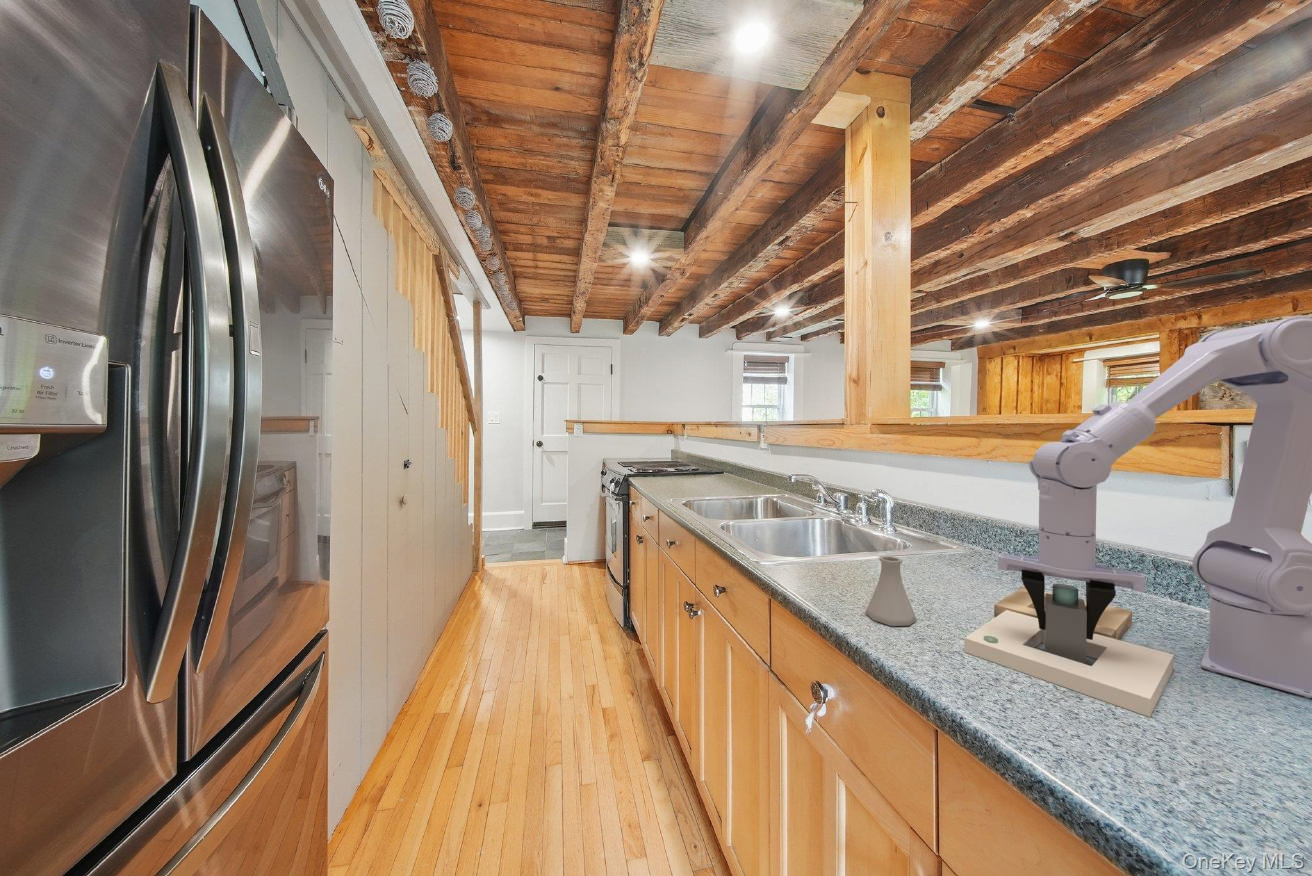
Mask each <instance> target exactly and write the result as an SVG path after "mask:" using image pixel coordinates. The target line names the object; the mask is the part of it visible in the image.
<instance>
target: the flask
mask: <svg viewBox="0 0 1312 876" xmlns="http://www.w3.org/2000/svg"><path fill="white" fill-rule="evenodd" d="M878 561H880V563H881V564H880V566H881V567H880V574H879V579H878V581H877V584H876V587H875V589H874V591H873V594H872V597H871V598H870V601H869V604H868V606H867V607H866V610H865V612H864V614H866V615H867V616H868V617H869V618H870V619H871V620H873V621H875V622H878V623H881V624H884V625H887V626H890V627H897V626H900V627H901V626H902V627H903V626H906V627H907V626H911V625H912V624H914V623H915V622H917V621H918V620H917V616H916V614H915V611H914V610H913V607H912V605H911V602H910V600H909V597H908V594H907V592H906V590H905V589H906V588H905V586H904V583H903V580H902V579H903V578H902V574H901V564H902V563H903V558H902V559H901V558H899V557H897V556H891V555H882V556H880V557H879V559H878Z"/></svg>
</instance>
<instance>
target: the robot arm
mask: <svg viewBox="0 0 1312 876" xmlns="http://www.w3.org/2000/svg"><path fill="white" fill-rule="evenodd" d="M1215 382H1219V383H1222V384H1224V385H1225V386H1227V387H1229V388H1231V389H1234V390H1236V391H1238V392H1241V393H1242V394H1245V395H1246V396H1247V397H1249V398H1250V399H1251V400H1252V401H1253V402H1254V403H1256V408H1255V412H1254V413H1255V414H1254V418H1253V420H1252V426H1251V430H1250V434H1249V438H1248V443H1247V447H1246V451H1245V455H1244V460H1243V463H1242V468H1241V473H1240V477H1239V481H1238V485H1237V490H1236V494H1235V499H1234V503H1233V508H1232V511H1231V515H1230V519H1229V522H1228V521H1227V522H1226V523H1224V524H1222V525H1220V526H1218V527H1216V528H1214V529H1211V530H1209V531H1208V532H1207V535H1206V539H1205V542H1204V543H1203V545H1202V546H1201V547H1200V548H1199V549H1198V550H1197V551H1196V552H1195V554H1194V557H1193V558H1192V559H1193V560H1192V565H1191V566H1192V571H1193V573H1194V575H1195V576H1196V578H1197V579H1198V581H1200V582H1201V583H1202V584H1205V585H1204V588H1205V589H1204V590H1205V591H1204V592H1205V593H1208V594H1209V595H1210V596H1209V622H1208V623H1209V629H1208V630H1209V631H1208V647H1207V648H1206V650H1205V652H1204V654H1203V658H1202V660H1201V662H1200V667H1201V668H1202V669H1205V670H1208V671H1212V672H1215V673H1219V674H1222V675H1225V676H1228V677H1229V676H1230V677H1234V678H1236V679H1240V680H1245V681H1249V682H1252V683H1255V684H1259V685H1263V686H1266V687H1270V688H1273V689H1277V690H1281V691H1285V692H1288V693H1292V694H1296V695H1298V696H1303V697H1306V698H1309V699H1312V543H1311V542H1310V541H1309V540H1308V539H1307V538H1306V537H1304V535H1303V534H1302V531H1303V527H1304V522H1305V519H1306V514H1307V510H1308V506H1309V504H1310V503H1309V502H1310V499H1311V498H1310V497H1311V493H1312V317H1311V316H1310V317H1309V316H1302V315H1299V316H1292V317H1287V318H1283V319H1280V320H1276V321H1272V322H1266V323H1260V324H1254V325H1249V326H1245V327H1239V328H1234V329H1233V328H1232V329H1228V330H1227V329H1225V330H1215V331H1213V332H1210V333H1207V334H1206V335H1204V336H1202V337H1201V338H1200V339H1199V340H1198V341H1197V342H1195V343H1193V344H1191V345H1189V346H1188V347H1186V348H1185V349H1184V353H1183V355H1182V356H1181V357H1180V358H1179V359H1178V360H1177V361H1176V362H1174V363H1173V364H1172V365H1171V366H1169V367H1168V368H1166V370H1164V371H1163V372H1162V373H1161V374H1159V375H1158V376H1157V377H1156V378H1155V379H1154V380H1152V381H1151V382H1150V383H1149V384H1147V385H1146V386H1145V387H1144V388H1143V389H1142V390H1140V391H1139V392H1138V393H1137V394H1135V395H1134V396H1133V397H1132V398H1131V399H1129V400H1128V401H1111V402H1110V403H1107V404H1098V405H1097V406H1096V407H1094V408H1092V410H1091V412H1092V413H1093V415H1091V416H1090V417H1089V418H1087V419H1085V420H1084V421H1083V422H1081V423H1080V424H1079V425H1078V426H1076V427H1075V428H1074V429H1072V430H1071V429H1067V430H1066V431H1064V432H1063V433H1062V434H1061V439H1060V441H1052V442H1047V443H1044V444H1042V445H1041V446H1040V447H1039V448H1038V449H1037V450H1036V451H1035V452H1034V455H1033V457H1032V460H1029V461H1028V467H1029V470H1030V472H1031V474H1032V475H1033V476H1034V477H1035V479H1036V481H1037V491H1038V492H1039V493H1038V494H1039V495H1038V556H1031V555H1016V554H1007V553H999V554H998V557H997V558H998V559H997V560H998V561H997V563H998V564H997V569H998V570H999V571H1005V572H1008V571H1013V572H1019V573H1021V578H1020V579H1021V581H1022V584H1023V587H1024V586H1025V588H1026V590H1027V591H1028V593H1029V595H1030V598H1031V600H1032V602H1033V605H1034V607H1035V610H1036V614H1037V617H1038V622H1039V629H1042V630H1045V628H1046V618H1045V606H1044V596H1045V591H1046V590H1045V589H1046V588H1045V587H1046V585H1045V579H1046V577H1052V578H1059V579H1065V580H1072V581H1079V582H1085V600H1086V610H1087V635H1086V639H1090V640H1093V634H1094V630H1095V628H1096V625H1097V623H1098V621H1099V619H1100V617H1101V615H1102V613H1103V612H1104V610H1105V609H1106V608H1107V606H1110V604H1111V603H1112V602H1113V601H1114V599H1115V598H1116V593H1117V592H1116V587H1118V588H1125V589H1131V590H1132V591H1135V592H1141V593H1145V592H1146V576H1145V574H1143V572H1137V571H1130V570H1125V569H1120V568H1115V567H1110V566H1104V565H1100V564H1096V544H1097V543H1096V542H1097V538H1096V537H1097V536H1096V534H1097V494H1098V493H1097V490H1098V489H1097V488H1098V485H1099V484H1102V483H1104V482H1106V480H1108V478H1109V477H1110V475H1111V471H1112V466H1113V465H1114V463H1115V462H1117V460H1118V459H1120V458H1121V457H1122V456H1124V455H1125V454H1127V453H1128V452H1129V451H1131V450H1132V449H1133V448H1135V447H1136V446H1138V445H1139V444H1141V443H1142V442H1144V441H1145V440H1146V439H1148V438H1149V437H1150V436H1152V435H1153V434H1155V431H1156V428H1157V427H1156V419H1157V418H1160V417H1161V416H1163V415H1165V414H1166V413H1167V412H1168V411H1170V410H1172V409H1174V408H1175V407H1176V406H1178V405H1181V403H1183V402H1185V401H1187V400H1188V399H1190V398H1191V397H1192V396H1194V395H1196V394H1197V393H1199V392H1200V391H1202V390H1204V389H1205V388H1207V387H1208V386H1210V385H1211V384H1213V383H1215ZM1252 549H1257V550H1261V551H1263V552H1261V551H1257V550H1252ZM1264 552H1265V553H1264ZM1045 576H1046V577H1045Z"/></svg>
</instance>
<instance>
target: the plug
mask: <svg viewBox="0 0 1312 876" xmlns="http://www.w3.org/2000/svg"><path fill="white" fill-rule="evenodd" d="M1052 593H1053V594H1048V593H1045V618H1046V628H1045V643H1044V652H1048V653H1051V654H1054V655H1057V656H1060V657H1064V658H1067V659H1070V660H1073V661H1076V662H1080V663H1083V664H1086V665H1087V656H1086V635H1087V610H1086V606H1085V602H1084V600H1085V599H1081V598H1079V588H1078V587H1075V586H1074V585H1069V584H1064V583H1053V584H1052Z"/></svg>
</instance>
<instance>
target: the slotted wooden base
mask: <svg viewBox="0 0 1312 876" xmlns="http://www.w3.org/2000/svg"><path fill="white" fill-rule="evenodd" d="M1045 593H1048V594H1053V592H1052V591H1051V592H1050V591H1046V590H1045ZM1083 600H1084V602H1085V606H1086V599H1083ZM993 605H994V607H993V608H994V609H993V613H994V614H993V618H995V617H997V616H998V615H1000V614H1001V613H1003V612H1004V611H1006V610H1009V611H1012V612H1016V613H1020V614H1023V615H1027V616H1031V617H1035V618H1038V617H1037V614H1036V610H1035V607H1034V605H1033V602H1032V600H1031V598H1030V595H1029V593H1028V591H1027V590H1026V588H1025V586H1024V585H1023V586H1022V587H1019V588H1018V589H1017V590H1015V591H1014V592H1012V593H1011V594H1009V595H1008V596H1006V597H1004V598H1002V599H1001V600H999V601H998V602H996V603H994V604H993ZM1044 606H1045V596H1044ZM1132 624H1133V610H1129V609H1125V608H1121V607H1116V606H1112V605H1108V606H1107V608H1106V609H1105V610H1104V612H1103V613H1102V615H1101V617H1100V619H1099V621H1098V623H1097V625H1096V628H1095V630H1094V634H1098V635H1102V636H1106V637H1109V638H1113V639H1117V640H1121V638H1122V637H1123V635H1124V634H1125V633H1126V632H1127V630H1128V629H1129V628H1130V627H1131V625H1132Z"/></svg>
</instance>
